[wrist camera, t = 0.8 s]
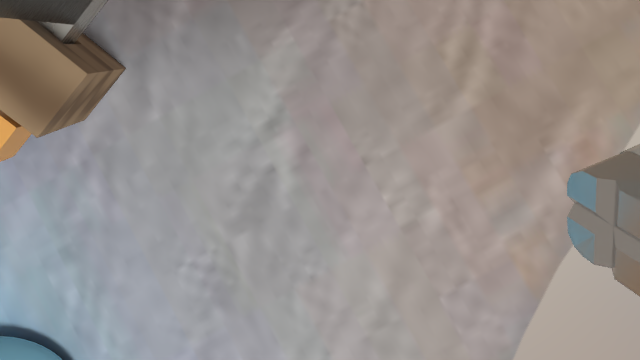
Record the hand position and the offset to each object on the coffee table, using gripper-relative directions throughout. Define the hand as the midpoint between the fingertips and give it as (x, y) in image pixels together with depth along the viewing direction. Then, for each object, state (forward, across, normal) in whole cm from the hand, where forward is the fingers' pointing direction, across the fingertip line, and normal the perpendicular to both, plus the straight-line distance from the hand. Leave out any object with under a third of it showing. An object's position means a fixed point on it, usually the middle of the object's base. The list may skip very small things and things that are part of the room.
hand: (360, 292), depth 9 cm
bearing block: (+46, +10, +3) cm, 47 cm away
